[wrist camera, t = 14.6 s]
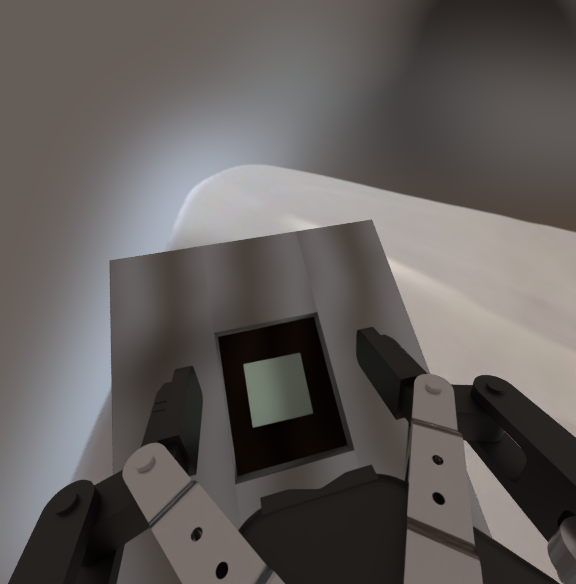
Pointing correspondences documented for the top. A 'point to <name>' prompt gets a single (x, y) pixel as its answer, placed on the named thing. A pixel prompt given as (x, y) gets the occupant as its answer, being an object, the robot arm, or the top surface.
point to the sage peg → (277, 389)
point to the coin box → (256, 347)
